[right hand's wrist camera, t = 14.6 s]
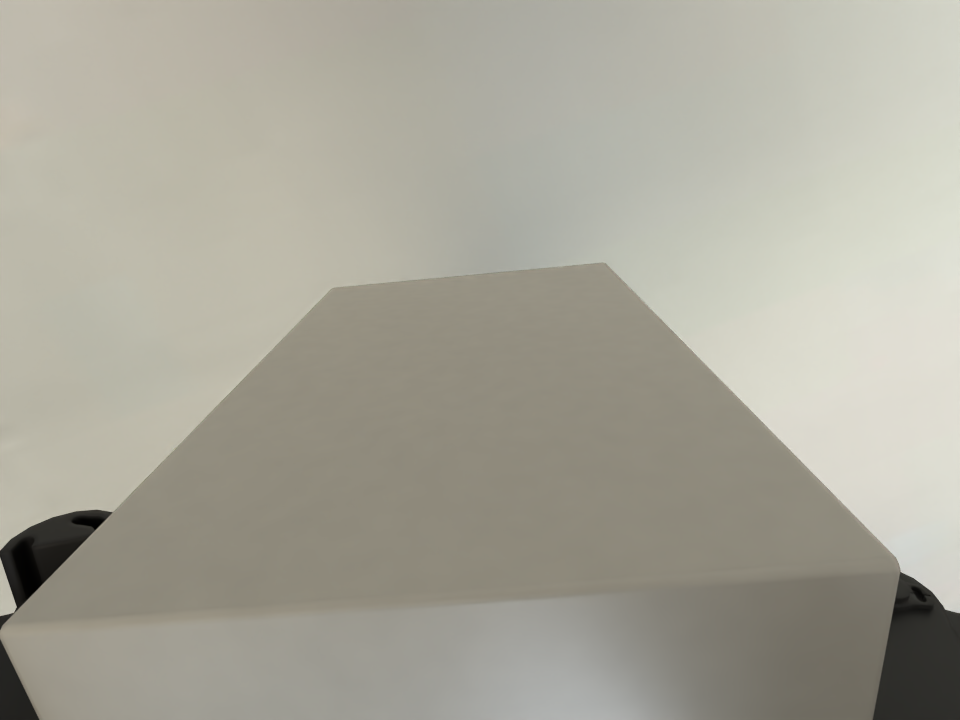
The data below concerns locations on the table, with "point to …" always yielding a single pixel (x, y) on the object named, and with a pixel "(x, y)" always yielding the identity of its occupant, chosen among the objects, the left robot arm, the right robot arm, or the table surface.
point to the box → (470, 534)
